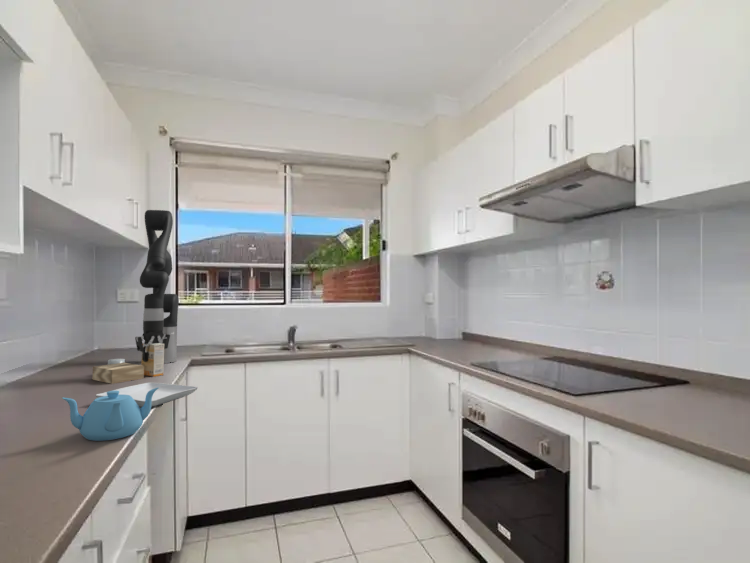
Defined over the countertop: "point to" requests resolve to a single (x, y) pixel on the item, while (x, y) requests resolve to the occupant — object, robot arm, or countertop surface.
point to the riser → (118, 372)
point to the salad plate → (160, 395)
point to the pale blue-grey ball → (116, 361)
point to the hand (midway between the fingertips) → (152, 360)
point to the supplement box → (154, 360)
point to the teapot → (110, 416)
